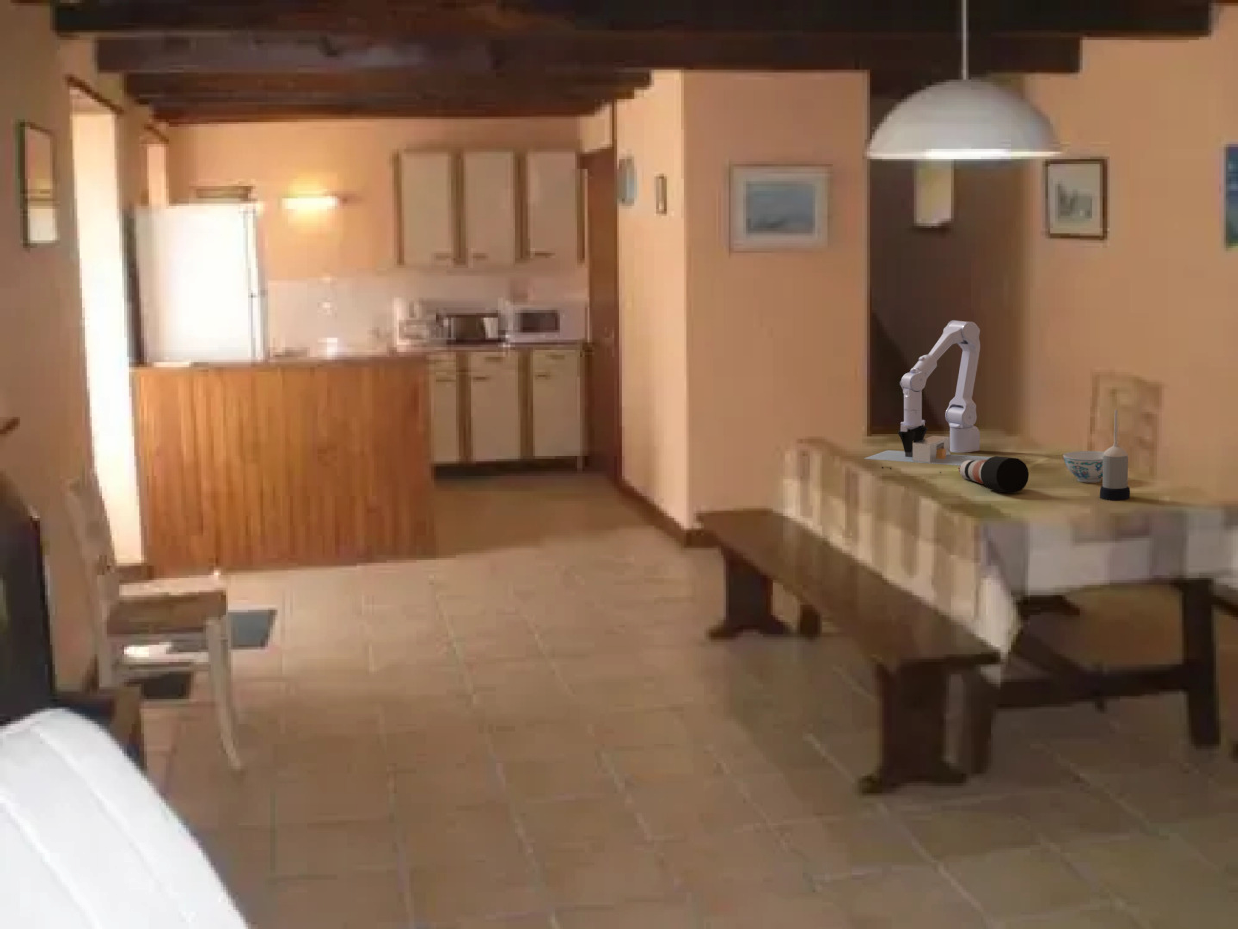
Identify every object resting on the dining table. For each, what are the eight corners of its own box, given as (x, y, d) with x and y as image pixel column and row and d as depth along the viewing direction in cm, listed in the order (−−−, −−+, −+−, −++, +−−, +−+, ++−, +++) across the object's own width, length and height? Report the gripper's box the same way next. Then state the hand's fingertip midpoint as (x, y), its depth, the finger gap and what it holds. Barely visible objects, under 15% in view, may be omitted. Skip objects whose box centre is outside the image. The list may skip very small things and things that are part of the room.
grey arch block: (950, 454, 513) (950, 436, 511) (930, 462, 500) (929, 444, 499) (933, 453, 516) (933, 435, 515) (912, 461, 503) (912, 443, 502)
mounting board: (997, 459, 504) (997, 457, 504) (975, 469, 490) (975, 466, 490) (887, 452, 527) (887, 450, 526) (863, 460, 512) (863, 458, 512)
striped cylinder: (968, 490, 480) (981, 460, 480) (1020, 498, 447) (1034, 466, 447) (941, 477, 478) (953, 447, 478) (990, 484, 444) (1004, 452, 445)
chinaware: (1052, 479, 468) (1052, 454, 467) (1092, 474, 474) (1092, 449, 473) (1085, 487, 455) (1086, 461, 453) (1126, 481, 460) (1126, 455, 459)
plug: (946, 457, 508) (946, 445, 507) (941, 459, 505) (941, 447, 504) (910, 454, 516) (910, 442, 515) (905, 456, 512) (905, 444, 512)
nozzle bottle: (1121, 494, 442) (1122, 407, 438) (1135, 499, 434) (1137, 410, 430) (1094, 496, 441) (1095, 408, 437) (1108, 501, 433) (1109, 412, 429)
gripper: (910, 406, 517) (911, 446, 519) (892, 411, 505) (892, 452, 508) (930, 407, 513) (930, 447, 515) (912, 412, 501) (912, 454, 504)
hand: (912, 450), depth 511 cm, fingers open, 7 cm apart
